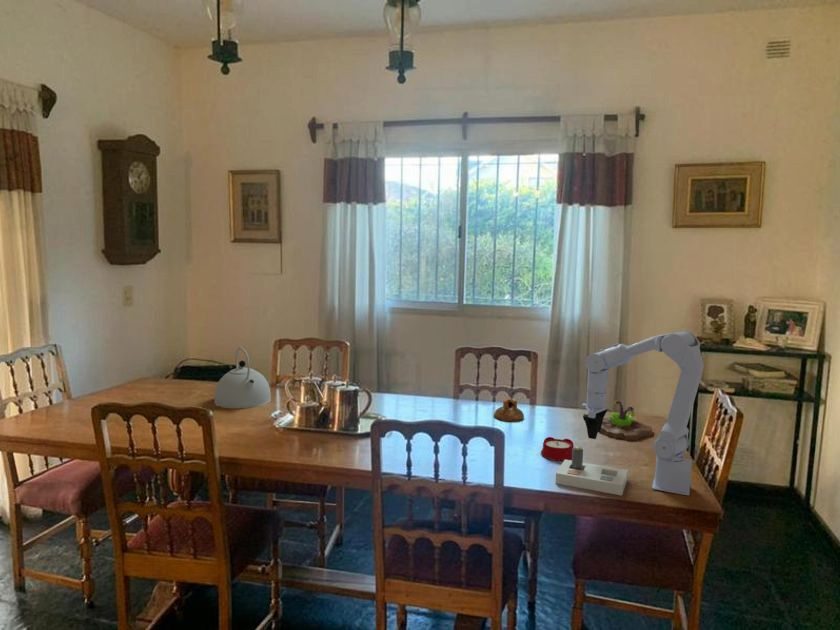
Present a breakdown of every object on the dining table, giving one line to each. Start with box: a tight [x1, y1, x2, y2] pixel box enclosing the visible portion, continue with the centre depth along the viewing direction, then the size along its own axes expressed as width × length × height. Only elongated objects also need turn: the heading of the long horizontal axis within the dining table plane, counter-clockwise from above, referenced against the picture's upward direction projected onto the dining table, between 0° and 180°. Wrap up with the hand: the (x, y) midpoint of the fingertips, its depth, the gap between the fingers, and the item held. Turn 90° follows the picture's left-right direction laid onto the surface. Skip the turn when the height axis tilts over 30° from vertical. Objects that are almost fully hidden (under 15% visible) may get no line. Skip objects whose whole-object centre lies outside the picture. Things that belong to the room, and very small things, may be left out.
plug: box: [571, 445, 584, 470], centre depth 174 cm, size 3×3×9 cm
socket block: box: [555, 459, 629, 496], centre depth 171 cm, size 18×12×3 cm, turn 65°
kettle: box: [213, 346, 272, 409], centre depth 248 cm, size 25×23×22 cm
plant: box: [599, 400, 653, 441], centre depth 218 cm, size 20×20×11 cm
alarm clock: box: [540, 436, 575, 462], centre depth 194 cm, size 10×6×15 cm
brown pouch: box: [493, 398, 525, 423], centre depth 233 cm, size 12×12×7 cm
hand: (594, 434), depth 184 cm, fingers open, 7 cm apart
